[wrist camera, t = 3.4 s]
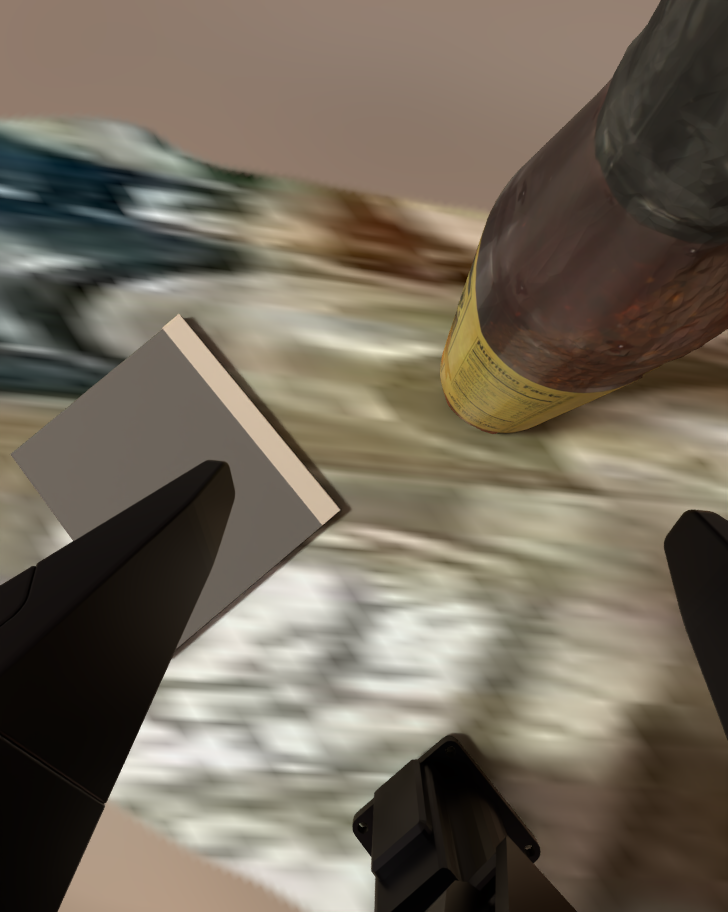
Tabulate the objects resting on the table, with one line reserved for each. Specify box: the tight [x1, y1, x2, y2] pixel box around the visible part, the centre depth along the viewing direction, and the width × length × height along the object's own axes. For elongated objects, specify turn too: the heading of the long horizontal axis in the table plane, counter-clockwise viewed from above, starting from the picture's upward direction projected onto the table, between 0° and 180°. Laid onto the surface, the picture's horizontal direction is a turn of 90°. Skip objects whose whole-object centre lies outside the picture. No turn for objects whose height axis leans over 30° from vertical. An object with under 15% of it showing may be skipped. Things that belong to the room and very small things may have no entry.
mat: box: [11, 314, 341, 649], centre depth 22 cm, size 14×12×1 cm
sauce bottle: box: [440, 0, 728, 434], centre depth 12 cm, size 7×6×20 cm
